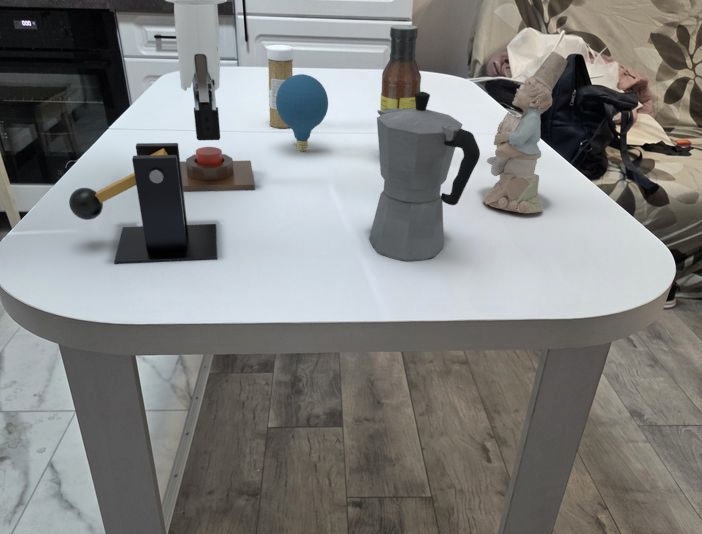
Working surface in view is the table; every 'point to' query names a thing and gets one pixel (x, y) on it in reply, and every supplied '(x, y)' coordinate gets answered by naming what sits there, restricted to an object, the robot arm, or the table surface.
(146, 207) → the lamp switch
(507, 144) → the figurine
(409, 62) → the sauce bottle
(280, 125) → the sprinkles bottle
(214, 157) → the lamp button
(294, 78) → the light bulb
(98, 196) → the switch lever
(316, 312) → the table surface
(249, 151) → the table surface
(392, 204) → the coffeepot
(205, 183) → the button block
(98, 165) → the table surface
